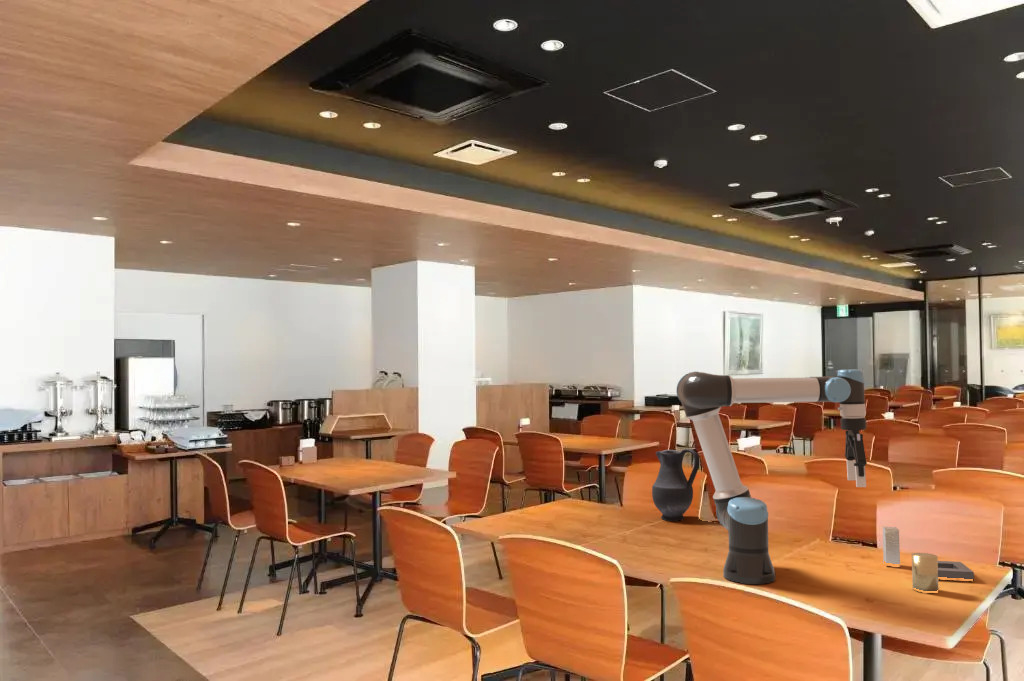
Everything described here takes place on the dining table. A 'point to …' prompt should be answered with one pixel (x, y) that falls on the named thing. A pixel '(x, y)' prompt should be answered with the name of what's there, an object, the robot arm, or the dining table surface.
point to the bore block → (954, 570)
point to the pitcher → (673, 484)
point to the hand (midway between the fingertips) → (856, 483)
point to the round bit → (925, 571)
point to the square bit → (891, 545)
